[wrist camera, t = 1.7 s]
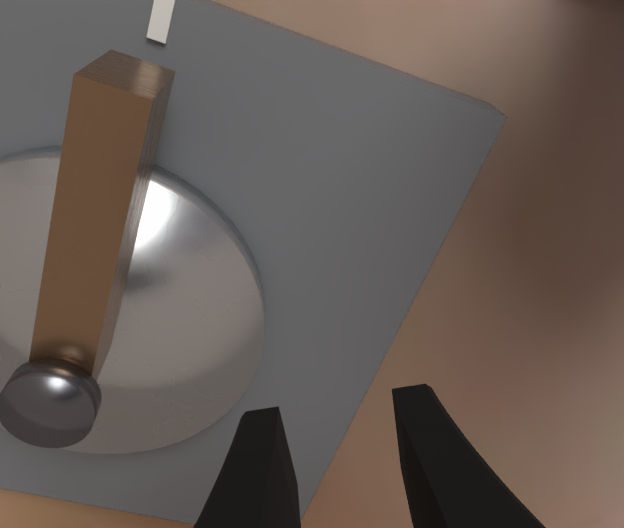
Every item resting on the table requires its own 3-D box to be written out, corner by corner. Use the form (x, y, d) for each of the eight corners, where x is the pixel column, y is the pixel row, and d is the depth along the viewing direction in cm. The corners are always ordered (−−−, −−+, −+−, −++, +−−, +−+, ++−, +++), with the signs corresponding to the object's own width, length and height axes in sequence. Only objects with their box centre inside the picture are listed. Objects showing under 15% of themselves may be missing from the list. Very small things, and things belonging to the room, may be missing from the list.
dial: (216, 455, 23) (201, 576, 19) (-87, 391, 21) (-185, 512, 16) (345, 118, 17) (368, 182, 12) (-69, -25, 14) (-220, -8, 10)
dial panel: (491, 104, 18) (508, 119, 17) (289, 513, 27) (289, 545, 26) (-227, -161, 14) (-283, -172, 13) (-189, 419, 23) (-220, 451, 22)
